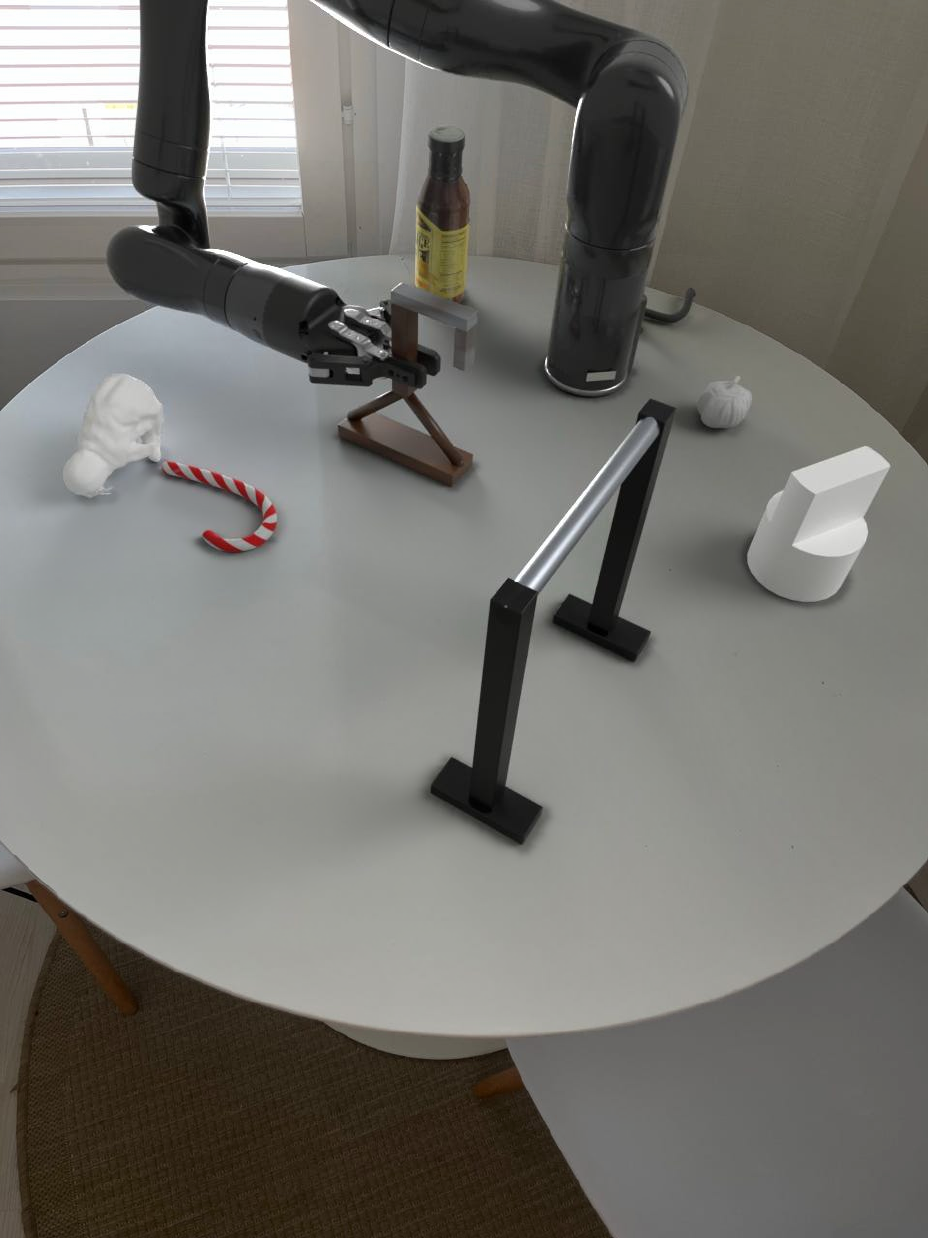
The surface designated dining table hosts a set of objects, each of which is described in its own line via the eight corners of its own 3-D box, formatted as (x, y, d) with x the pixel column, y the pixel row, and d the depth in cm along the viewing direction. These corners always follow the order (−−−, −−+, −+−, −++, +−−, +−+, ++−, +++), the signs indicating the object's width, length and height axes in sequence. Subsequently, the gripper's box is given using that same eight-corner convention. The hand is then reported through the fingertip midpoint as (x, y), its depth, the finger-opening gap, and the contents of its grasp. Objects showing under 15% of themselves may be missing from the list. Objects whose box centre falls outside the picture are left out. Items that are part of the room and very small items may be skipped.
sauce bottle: (413, 283, 115) (415, 116, 100) (462, 283, 115) (471, 117, 100) (416, 312, 111) (418, 142, 95) (467, 312, 111) (477, 143, 96)
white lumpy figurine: (159, 374, 86) (80, 457, 79) (181, 440, 93) (110, 522, 86) (103, 356, 87) (22, 437, 81) (129, 422, 94) (56, 501, 88)
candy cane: (188, 443, 91) (296, 510, 86) (190, 453, 92) (297, 520, 87) (125, 483, 87) (235, 556, 81) (128, 493, 88) (237, 566, 82)
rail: (567, 601, 82) (613, 378, 63) (648, 639, 79) (720, 419, 61) (430, 793, 69) (438, 582, 50) (522, 845, 66) (566, 644, 48)
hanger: (337, 435, 95) (326, 273, 81) (359, 416, 97) (352, 255, 83) (452, 487, 91) (461, 325, 77) (473, 465, 93) (485, 305, 79)
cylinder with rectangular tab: (789, 614, 82) (838, 518, 73) (727, 549, 87) (765, 451, 78) (863, 583, 85) (919, 487, 76) (799, 522, 90) (844, 424, 81)
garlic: (726, 400, 102) (739, 361, 98) (755, 429, 99) (770, 389, 95) (682, 413, 100) (693, 373, 96) (710, 442, 97) (723, 402, 93)
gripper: (232, 309, 83) (389, 373, 78) (323, 247, 91) (471, 302, 86) (244, 378, 89) (391, 442, 84) (328, 314, 97) (467, 370, 92)
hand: (431, 371), depth 85 cm, fingers closed on hanger, 2 cm apart
